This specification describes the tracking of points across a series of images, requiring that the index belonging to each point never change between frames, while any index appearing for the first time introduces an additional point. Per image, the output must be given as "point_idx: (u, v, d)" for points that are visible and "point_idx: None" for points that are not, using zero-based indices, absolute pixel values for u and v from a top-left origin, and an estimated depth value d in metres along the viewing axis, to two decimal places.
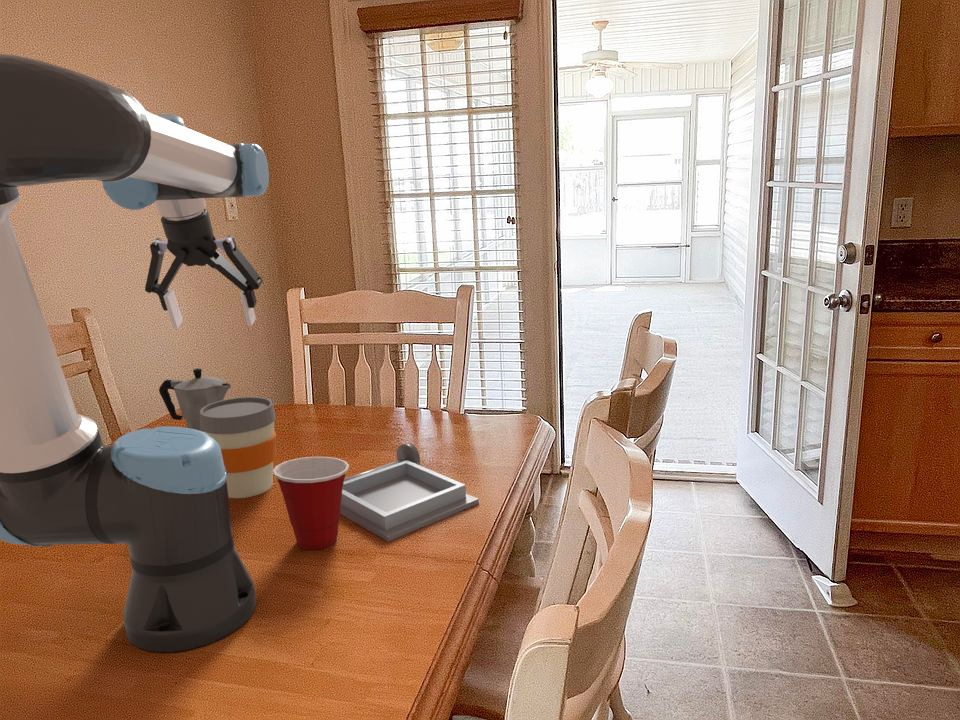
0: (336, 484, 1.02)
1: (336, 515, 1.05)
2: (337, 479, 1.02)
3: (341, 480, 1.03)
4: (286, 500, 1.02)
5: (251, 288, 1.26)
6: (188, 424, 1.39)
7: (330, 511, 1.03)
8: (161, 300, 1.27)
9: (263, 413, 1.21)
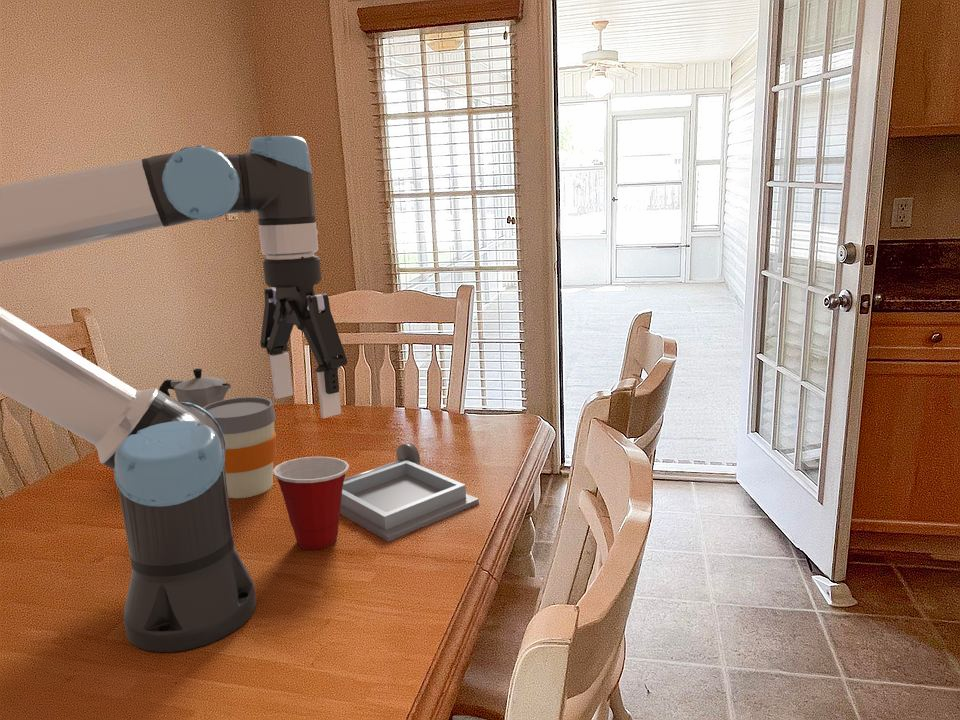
0: (336, 484, 1.02)
1: (336, 515, 1.05)
2: (337, 479, 1.02)
3: (341, 480, 1.03)
4: (286, 500, 1.02)
5: None
6: None
7: (330, 511, 1.03)
8: None
9: (263, 413, 1.21)
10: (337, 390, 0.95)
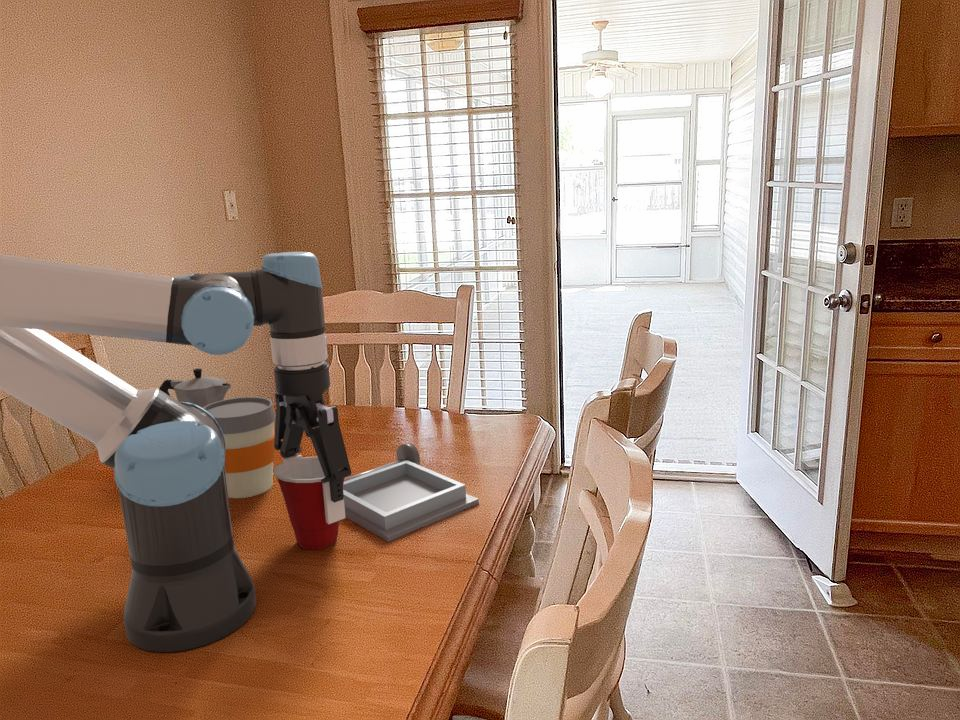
0: None
1: None
2: None
3: None
4: (286, 500, 1.02)
5: None
6: None
7: None
8: None
9: (263, 413, 1.21)
10: (342, 498, 1.00)
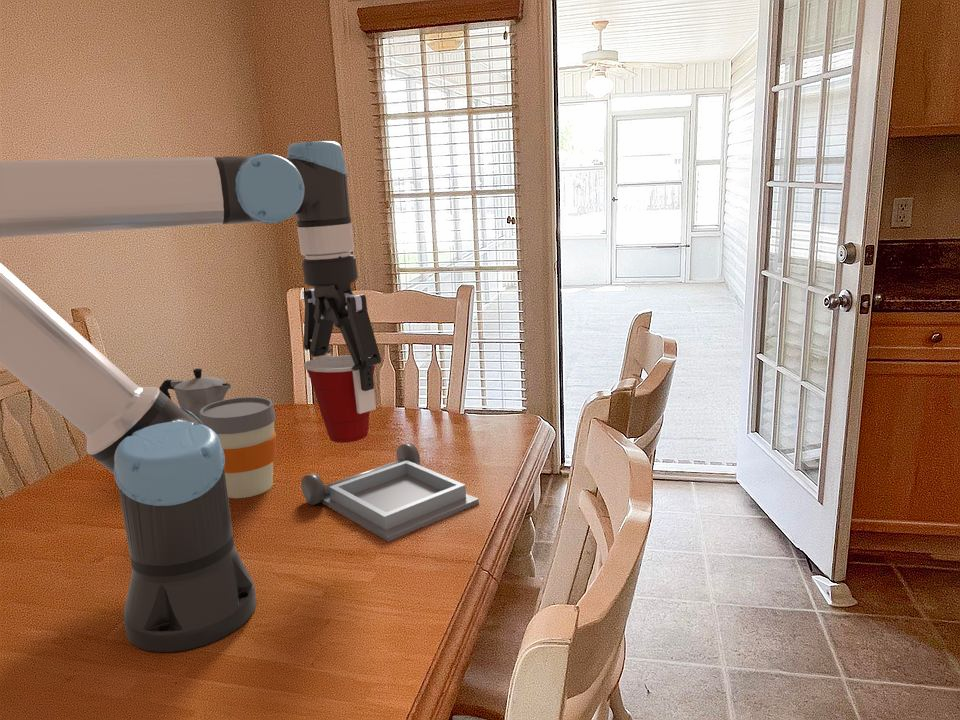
0: None
1: None
2: None
3: None
4: (317, 392, 1.04)
5: None
6: None
7: None
8: None
9: (263, 413, 1.21)
10: (372, 387, 1.01)
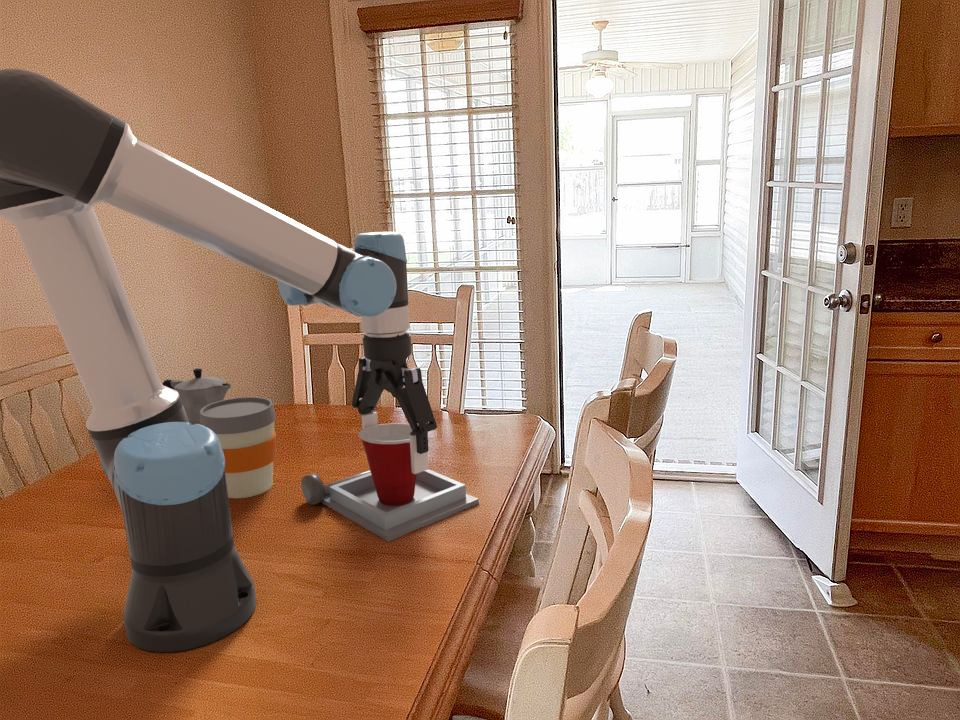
0: None
1: (415, 474, 1.16)
2: None
3: None
4: (371, 460, 1.14)
5: (421, 431, 1.09)
6: None
7: (410, 470, 1.14)
8: (361, 419, 1.21)
9: (263, 413, 1.21)
10: (427, 450, 1.10)
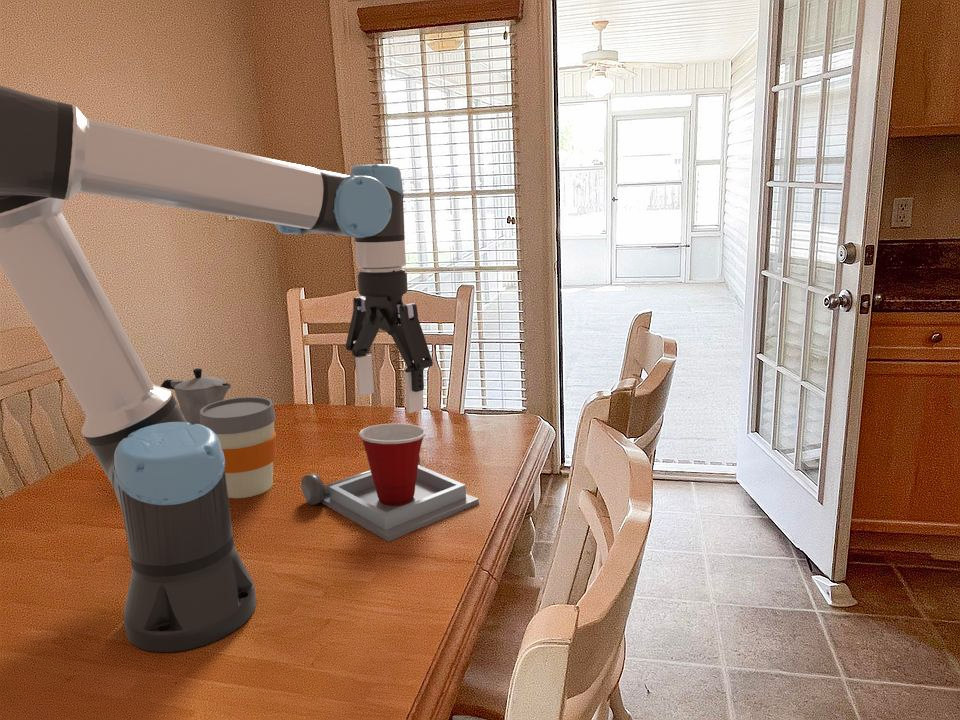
0: (416, 446, 1.14)
1: (415, 474, 1.16)
2: (417, 441, 1.13)
3: (420, 443, 1.15)
4: (371, 460, 1.14)
5: (416, 367, 1.06)
6: None
7: (410, 470, 1.14)
8: (355, 362, 1.19)
9: (263, 413, 1.21)
10: (422, 388, 1.08)
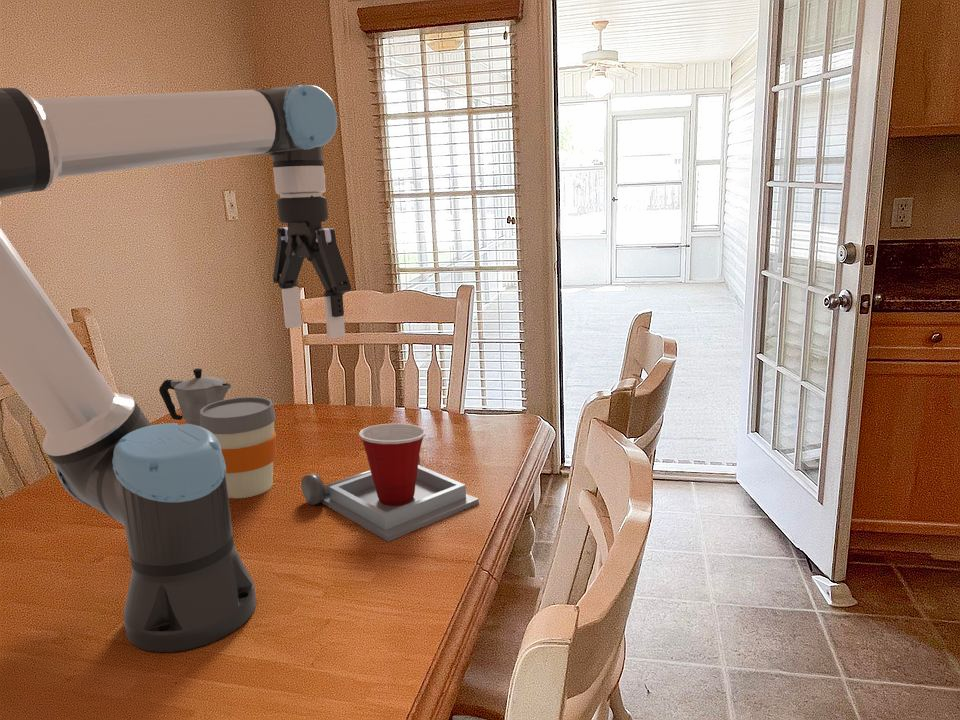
0: (416, 446, 1.14)
1: (415, 474, 1.16)
2: (417, 441, 1.13)
3: (420, 443, 1.15)
4: (371, 460, 1.14)
5: None
6: None
7: (410, 470, 1.14)
8: None
9: (263, 413, 1.21)
10: (342, 314, 1.08)
